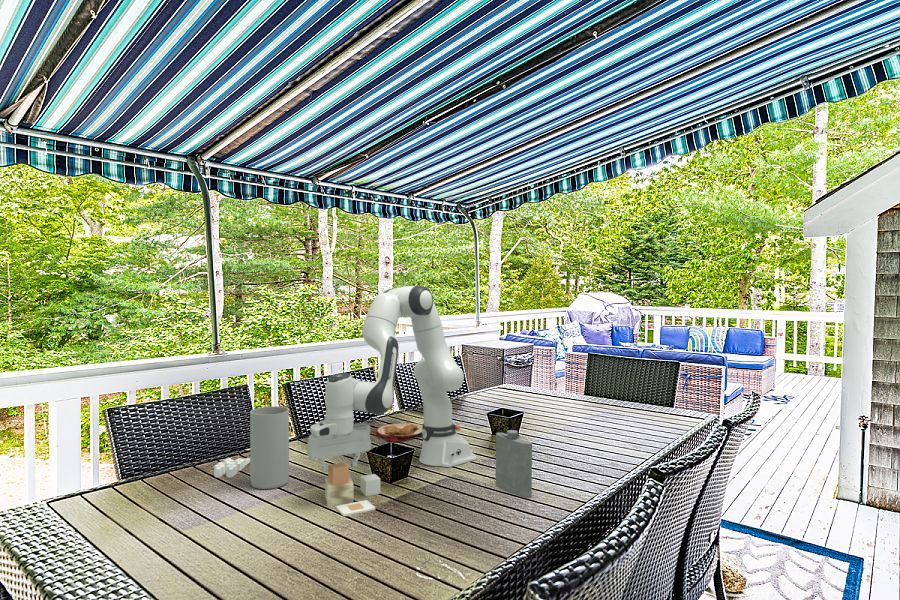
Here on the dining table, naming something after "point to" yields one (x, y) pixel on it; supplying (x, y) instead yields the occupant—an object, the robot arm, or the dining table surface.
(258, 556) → the dining table surface
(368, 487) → the grey cube
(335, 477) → the terracotta cube
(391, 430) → the plate with food
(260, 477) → the cylinder vase
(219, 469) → the modular blocks
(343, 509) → the card
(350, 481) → the birch block
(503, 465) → the hip flask
